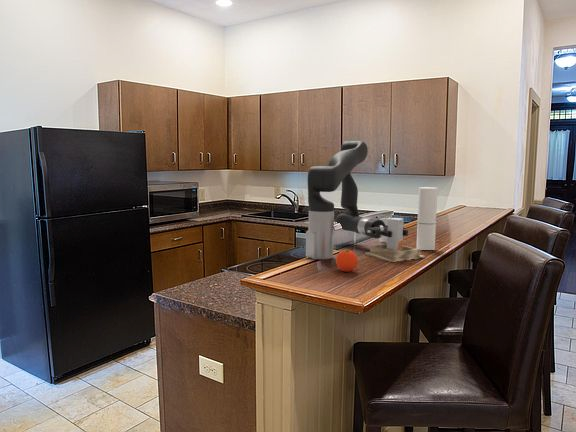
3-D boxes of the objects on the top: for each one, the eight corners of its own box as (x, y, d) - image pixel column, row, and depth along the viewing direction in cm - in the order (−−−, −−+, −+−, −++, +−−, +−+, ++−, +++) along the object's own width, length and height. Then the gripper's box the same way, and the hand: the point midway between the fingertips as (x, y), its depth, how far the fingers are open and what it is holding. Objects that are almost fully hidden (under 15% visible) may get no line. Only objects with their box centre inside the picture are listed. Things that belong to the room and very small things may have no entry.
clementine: (331, 268, 148) (332, 247, 147) (351, 267, 150) (351, 246, 149) (340, 274, 140) (340, 252, 139) (361, 273, 142) (361, 251, 141)
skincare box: (397, 252, 165) (398, 220, 164) (386, 251, 167) (387, 219, 166) (402, 249, 170) (404, 218, 169) (391, 248, 172) (393, 217, 171)
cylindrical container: (436, 248, 185) (439, 187, 182) (431, 251, 179) (434, 188, 176) (419, 247, 189) (421, 187, 186) (414, 249, 183) (416, 187, 180)
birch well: (391, 262, 159) (391, 253, 158) (364, 254, 172) (365, 246, 171) (425, 258, 166) (425, 249, 166) (397, 251, 179) (397, 242, 179)
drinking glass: (395, 242, 198) (396, 220, 197) (379, 242, 199) (380, 220, 197) (392, 240, 205) (392, 218, 204) (377, 240, 205) (378, 218, 204)
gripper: (356, 219, 177) (384, 224, 162) (385, 217, 183) (414, 222, 169) (356, 238, 178) (383, 245, 163) (384, 235, 184) (413, 242, 170)
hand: (399, 233), depth 166 cm, fingers closed on skincare box, 7 cm apart
